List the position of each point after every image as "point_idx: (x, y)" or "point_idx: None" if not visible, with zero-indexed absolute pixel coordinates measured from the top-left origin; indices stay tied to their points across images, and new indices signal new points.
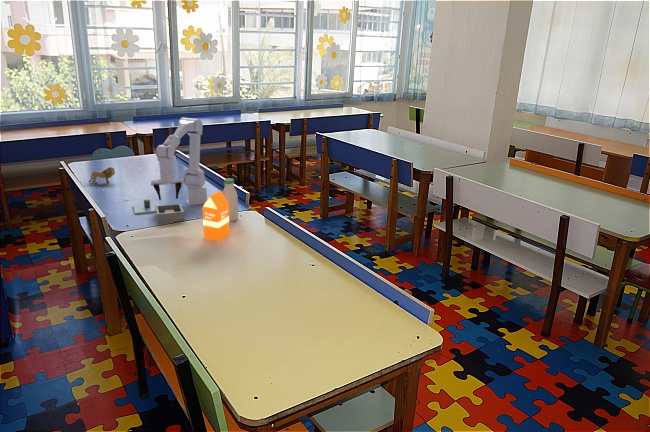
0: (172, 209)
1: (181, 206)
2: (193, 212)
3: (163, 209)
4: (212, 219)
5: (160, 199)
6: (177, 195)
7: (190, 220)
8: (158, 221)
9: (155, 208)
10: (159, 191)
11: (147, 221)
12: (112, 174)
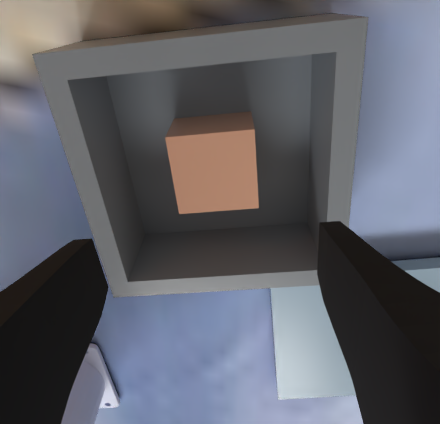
0: (191, 250)
1: (93, 225)
2: (45, 236)
3: (265, 249)
4: None
5: (330, 225)
6: (46, 265)
7: (32, 63)
8: (334, 14)
9: None
10: (402, 318)
11: (409, 116)
12: None
